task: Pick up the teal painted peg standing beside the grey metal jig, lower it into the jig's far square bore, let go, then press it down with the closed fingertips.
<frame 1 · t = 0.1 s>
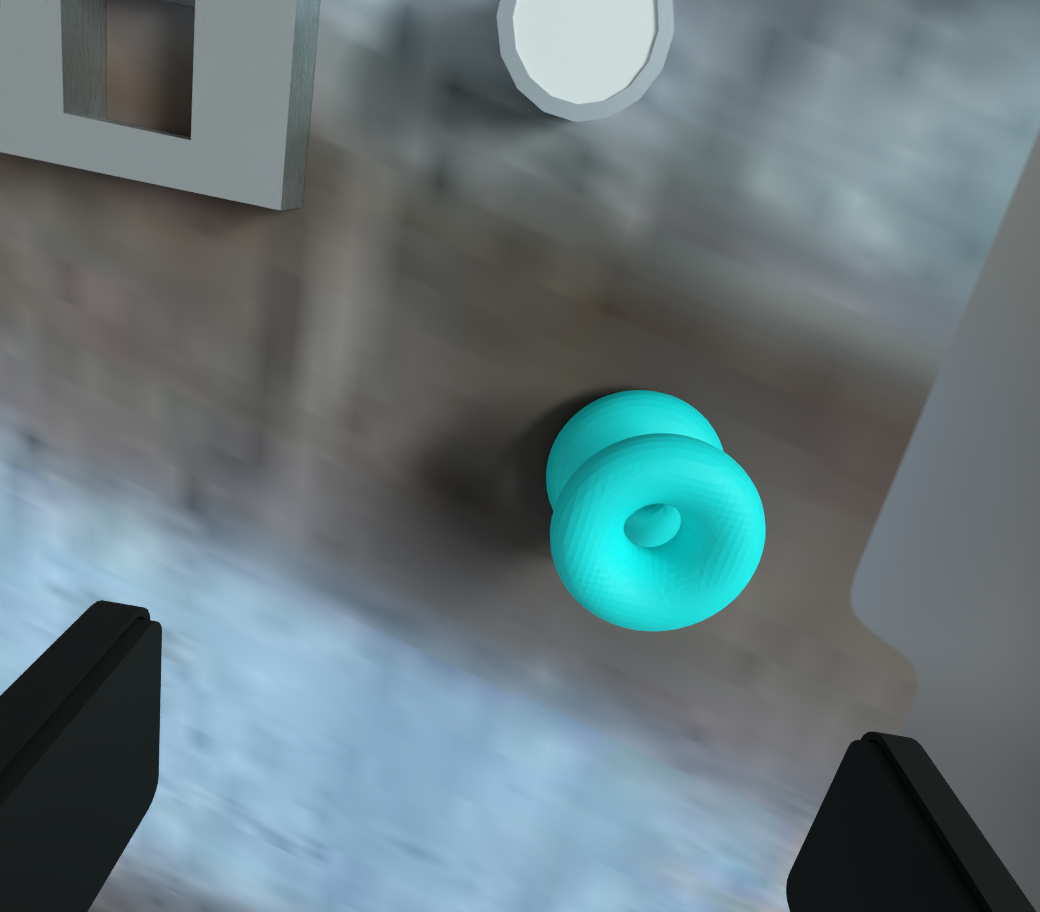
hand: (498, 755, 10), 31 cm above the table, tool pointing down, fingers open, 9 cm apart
grey cup: (574, 52, 34), on the table
donuts: (631, 465, 42), on the table
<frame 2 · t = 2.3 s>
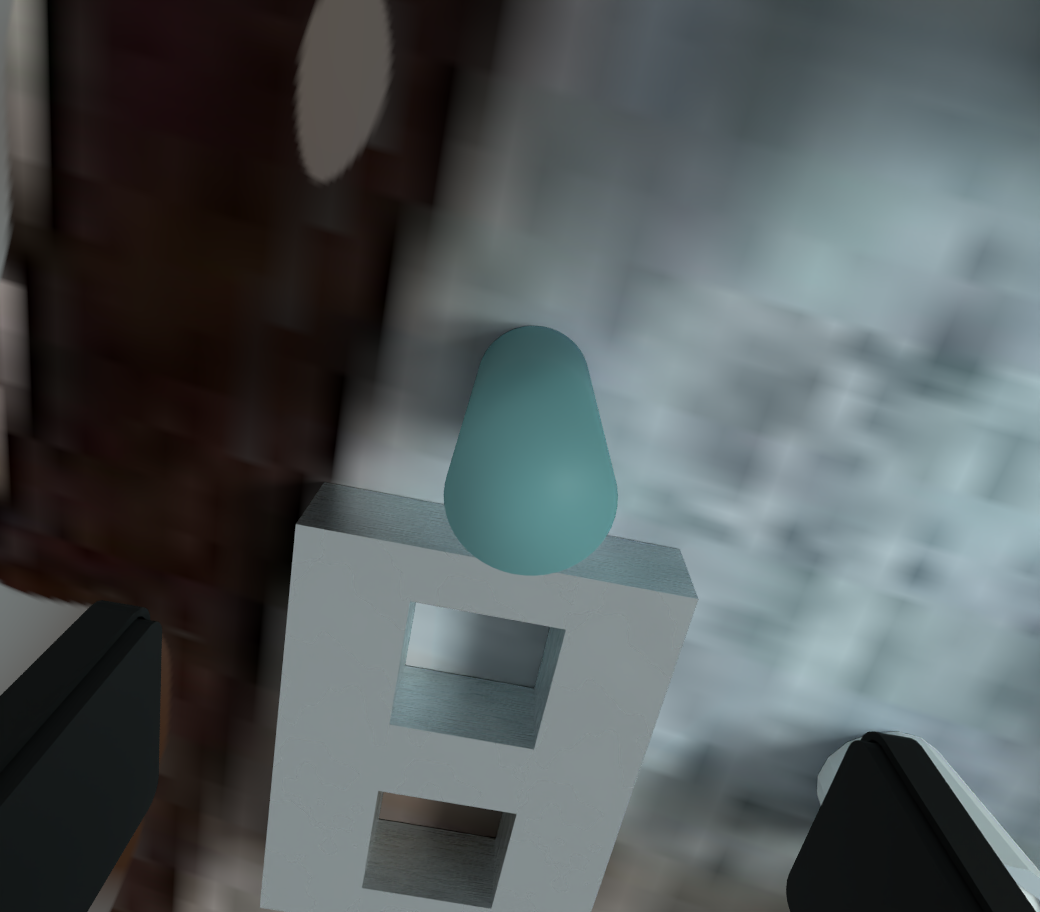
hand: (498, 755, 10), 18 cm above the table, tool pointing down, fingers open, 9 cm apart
peg: (533, 381, 26), on the table
grey cup: (878, 776, 33), on the table
jig: (463, 708, 31), on the table
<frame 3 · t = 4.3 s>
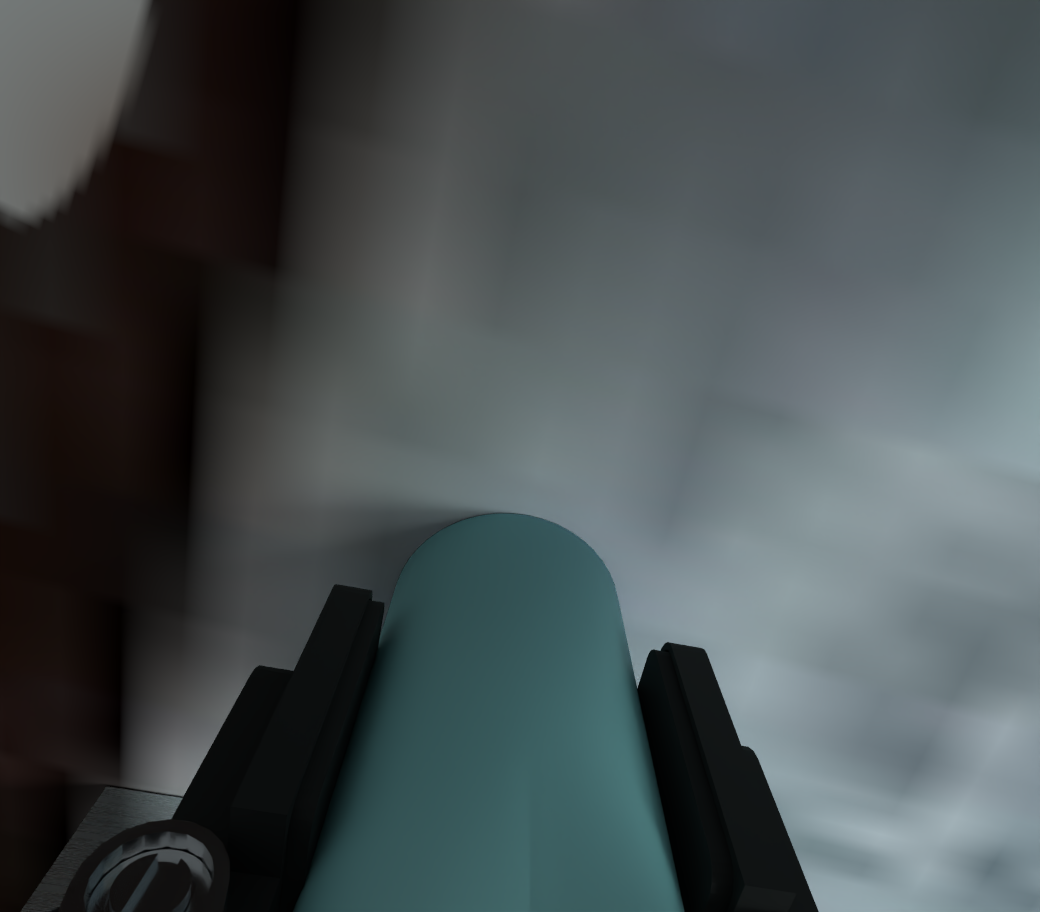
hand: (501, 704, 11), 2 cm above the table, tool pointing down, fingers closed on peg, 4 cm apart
peg: (505, 615, 13), on the table, touching gripper
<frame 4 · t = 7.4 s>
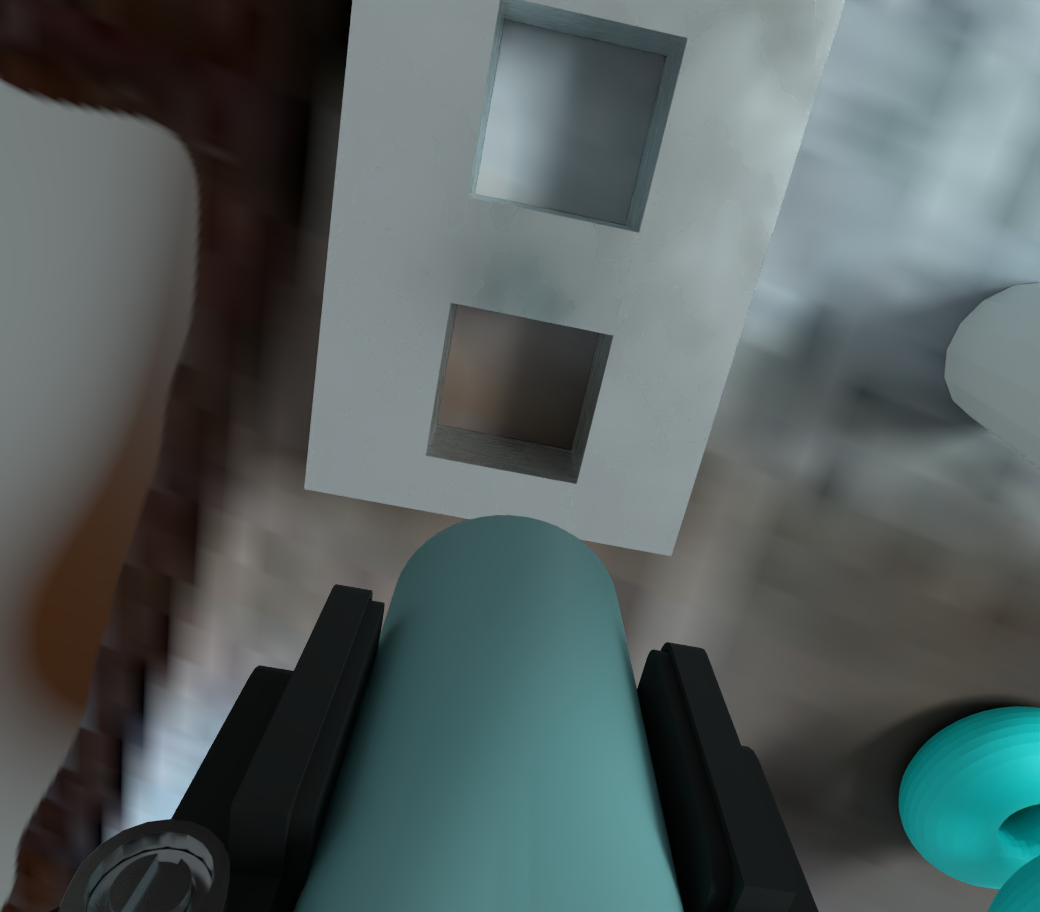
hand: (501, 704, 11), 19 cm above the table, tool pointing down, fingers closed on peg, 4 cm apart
peg: (505, 616, 13), point 17 cm above the table, touching gripper
grey cup: (1014, 354, 28), on the table
jig: (541, 256, 27), on the table
donuts: (987, 771, 36), on the table
when the fingers open (5 cm above the table, at t = 10.4 s): peg drops 2 cm, resting in jig.
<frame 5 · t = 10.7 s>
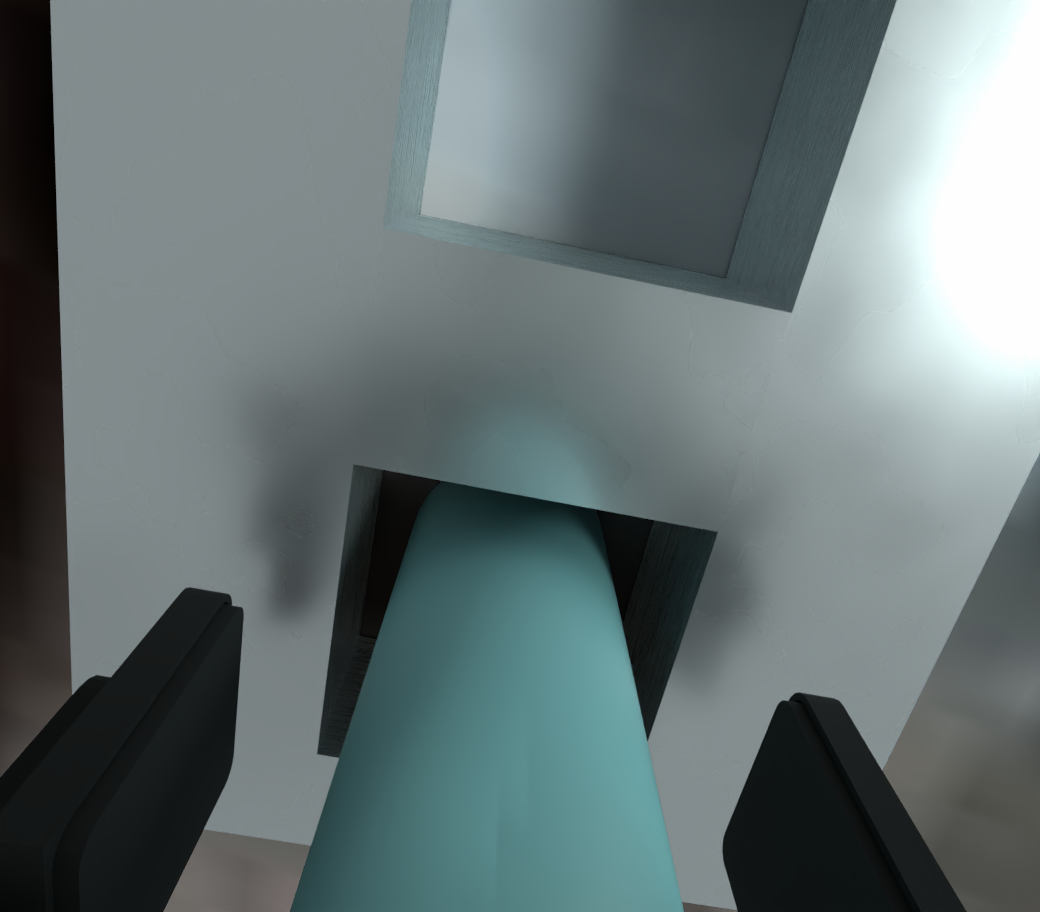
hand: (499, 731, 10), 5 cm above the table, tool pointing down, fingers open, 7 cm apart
peg: (507, 546, 15), resting in jig
jig: (554, 339, 14), on the table
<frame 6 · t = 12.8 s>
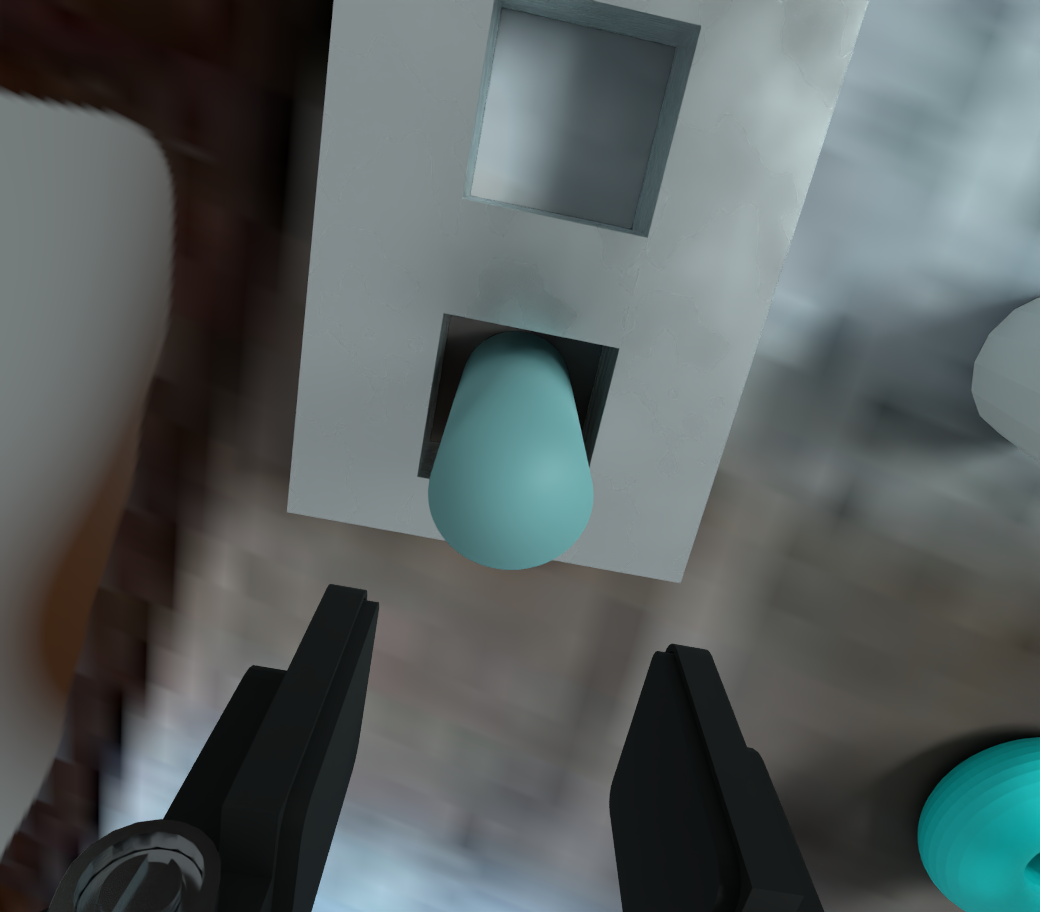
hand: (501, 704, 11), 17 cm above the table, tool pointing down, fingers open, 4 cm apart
peg: (515, 384, 27), resting in jig
jig: (541, 263, 25), on the table
donuts: (1011, 803, 34), on the table
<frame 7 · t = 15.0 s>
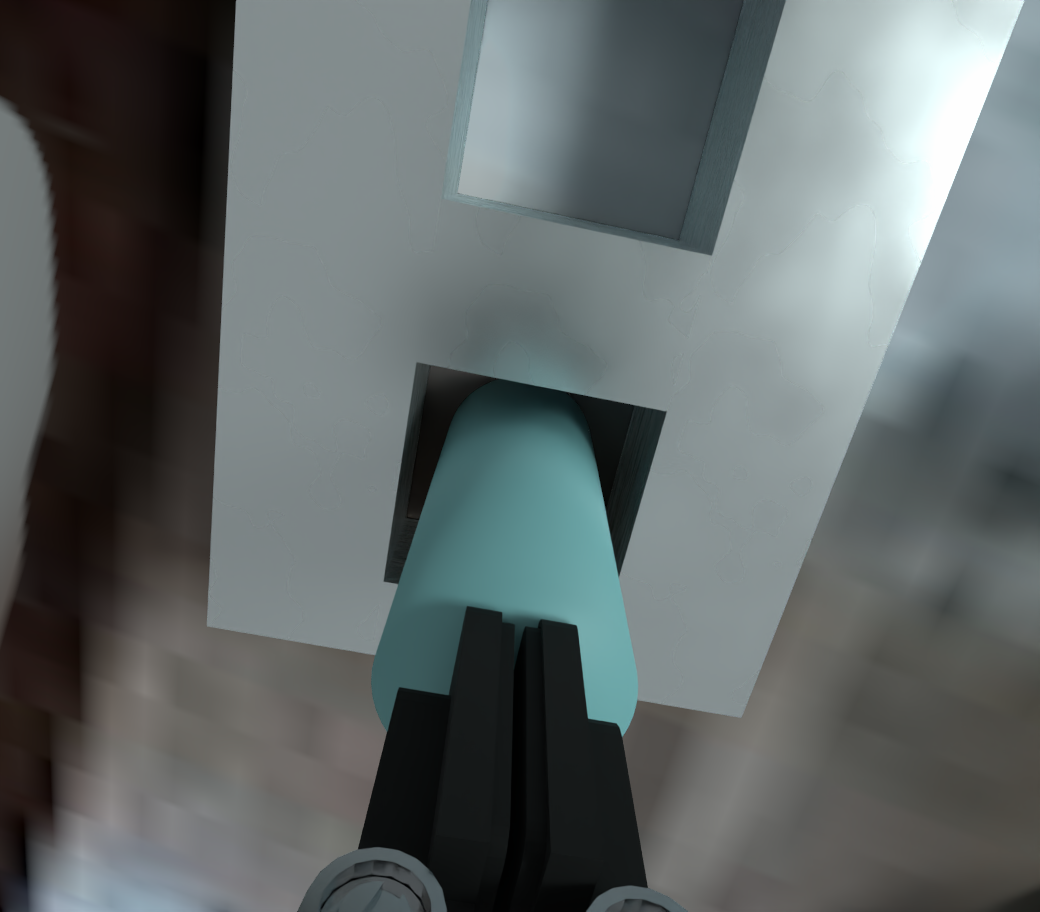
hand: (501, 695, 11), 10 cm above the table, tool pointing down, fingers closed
peg: (519, 445, 20), resting in jig, touching gripper
jig: (554, 285, 18), on the table
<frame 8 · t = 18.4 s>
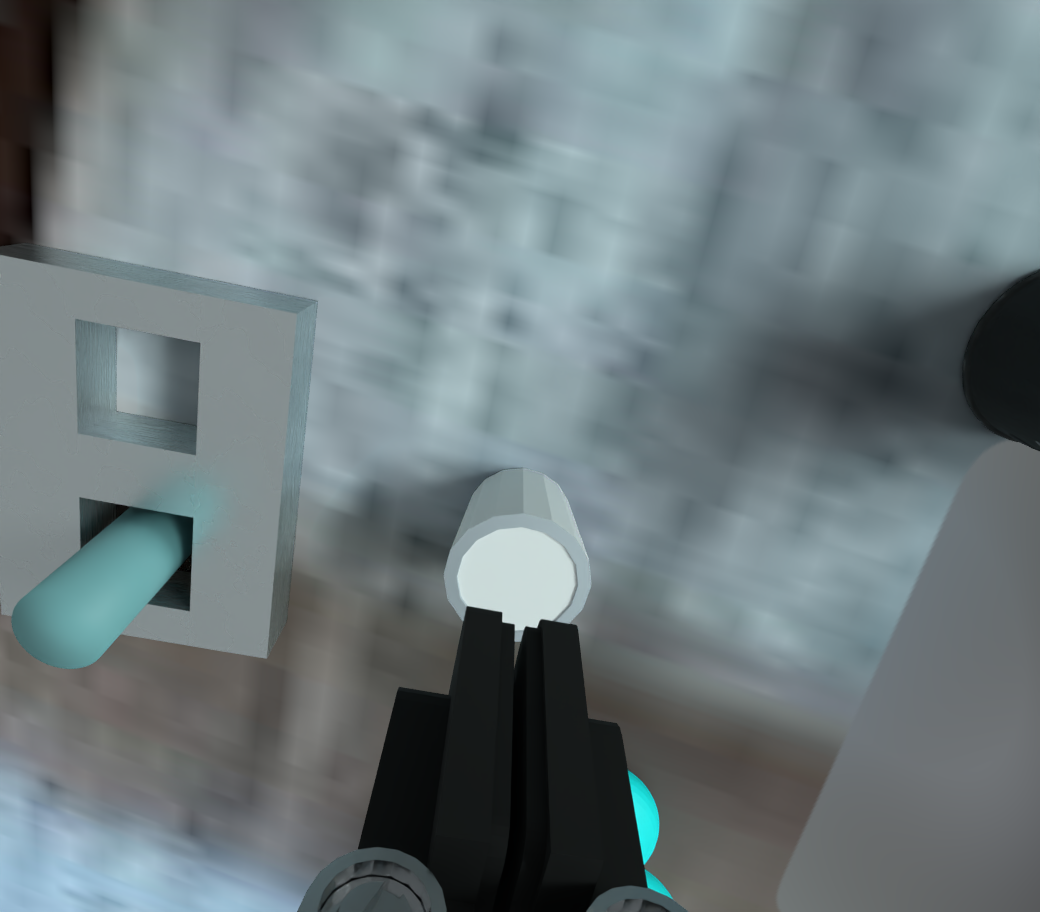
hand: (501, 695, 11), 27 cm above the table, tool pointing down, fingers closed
peg: (167, 524, 40), resting in jig
grey cup: (518, 513, 40), on the table
jig: (169, 451, 39), on the table
donuts: (578, 803, 48), on the table
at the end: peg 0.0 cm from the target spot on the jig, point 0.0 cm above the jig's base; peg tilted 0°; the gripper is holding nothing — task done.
